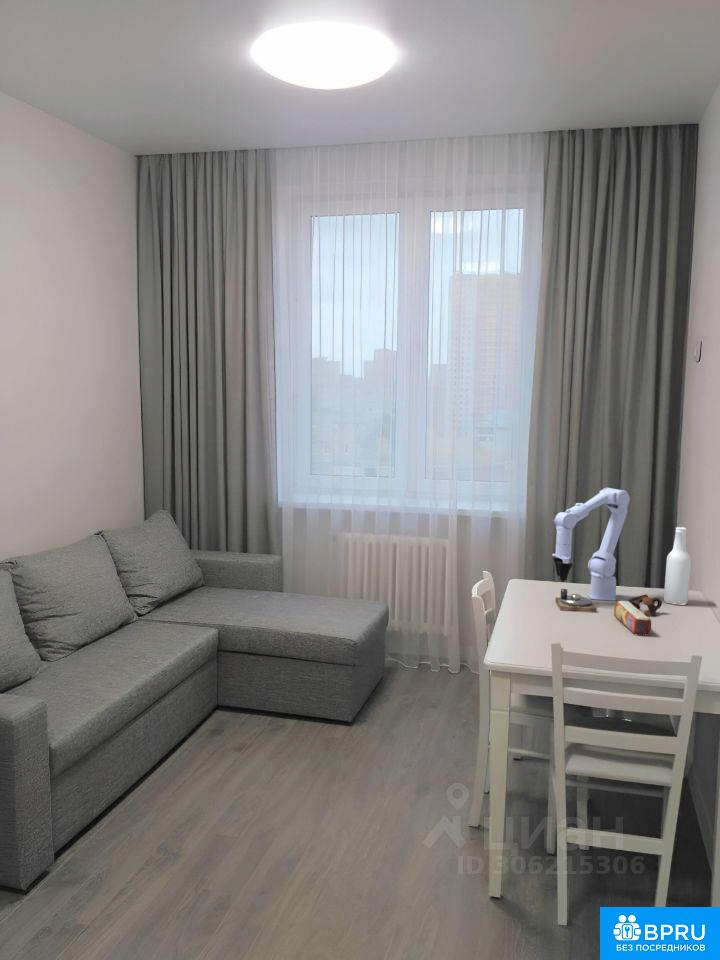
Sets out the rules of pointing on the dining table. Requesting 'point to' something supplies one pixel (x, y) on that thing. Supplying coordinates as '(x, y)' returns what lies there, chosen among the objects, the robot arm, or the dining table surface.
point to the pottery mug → (648, 602)
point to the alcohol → (677, 570)
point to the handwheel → (574, 599)
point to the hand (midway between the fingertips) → (561, 578)
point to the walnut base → (575, 607)
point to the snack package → (632, 618)
